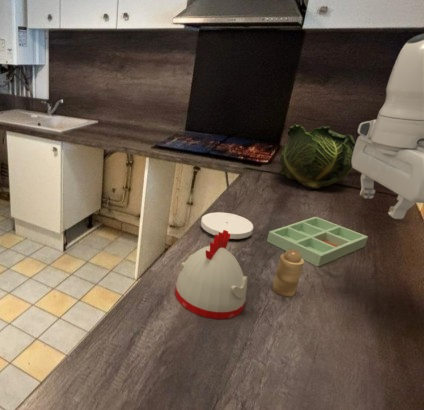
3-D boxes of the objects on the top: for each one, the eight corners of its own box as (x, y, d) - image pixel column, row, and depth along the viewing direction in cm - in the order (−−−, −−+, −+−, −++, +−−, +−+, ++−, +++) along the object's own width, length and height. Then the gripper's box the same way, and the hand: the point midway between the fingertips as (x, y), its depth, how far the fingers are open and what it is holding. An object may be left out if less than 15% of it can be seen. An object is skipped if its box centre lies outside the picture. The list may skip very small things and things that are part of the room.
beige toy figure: (299, 292, 77) (311, 252, 73) (286, 299, 75) (297, 258, 71) (280, 282, 80) (291, 243, 76) (267, 287, 79) (277, 248, 75)
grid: (364, 246, 95) (368, 236, 94) (317, 266, 86) (321, 255, 85) (312, 225, 106) (315, 216, 105) (266, 241, 97) (269, 231, 96)
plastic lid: (223, 216, 112) (224, 208, 111) (262, 234, 101) (264, 226, 100) (190, 226, 106) (191, 218, 105) (228, 246, 95) (229, 238, 94)
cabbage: (322, 194, 147) (348, 140, 142) (350, 203, 124) (382, 139, 118) (260, 174, 151) (283, 121, 146) (276, 179, 128) (305, 116, 123)
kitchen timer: (255, 297, 75) (270, 234, 69) (224, 329, 67) (238, 261, 61) (196, 270, 85) (205, 212, 79) (162, 295, 76) (169, 233, 70)
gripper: (475, 149, 52) (439, 233, 57) (389, 123, 70) (368, 188, 76) (426, 147, 53) (395, 230, 58) (354, 122, 71) (336, 187, 77)
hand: (379, 206), depth 67 cm, fingers open, 8 cm apart
